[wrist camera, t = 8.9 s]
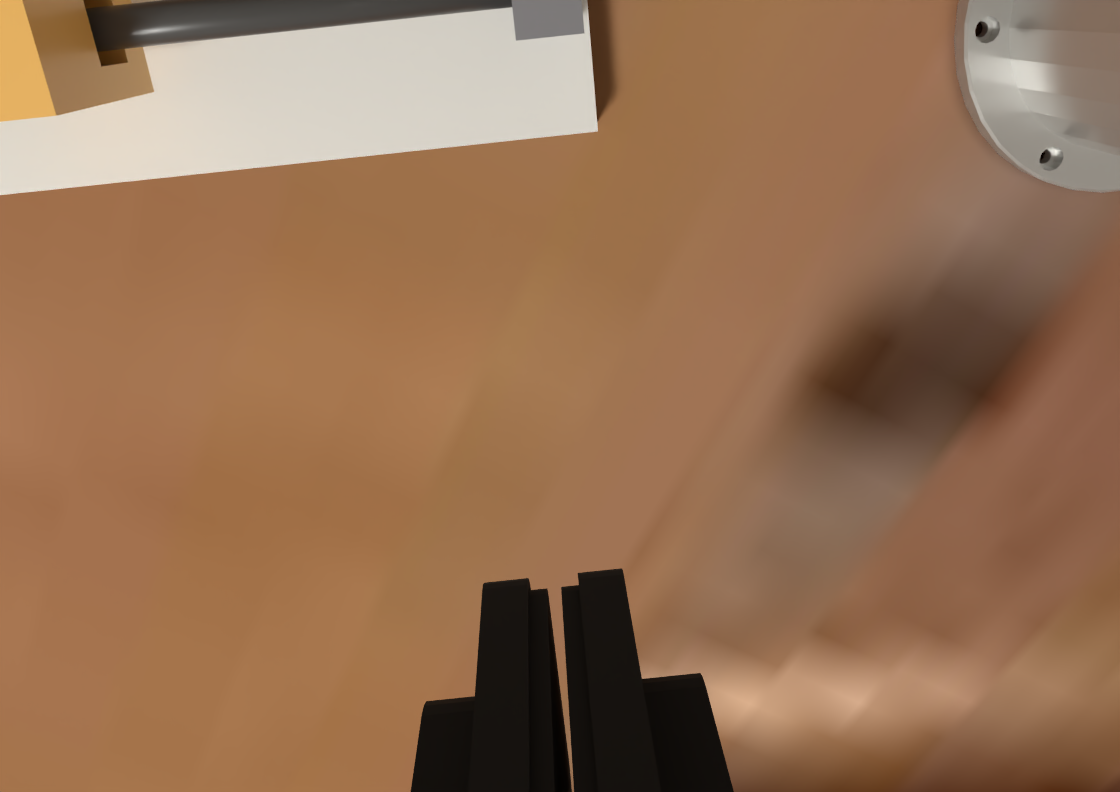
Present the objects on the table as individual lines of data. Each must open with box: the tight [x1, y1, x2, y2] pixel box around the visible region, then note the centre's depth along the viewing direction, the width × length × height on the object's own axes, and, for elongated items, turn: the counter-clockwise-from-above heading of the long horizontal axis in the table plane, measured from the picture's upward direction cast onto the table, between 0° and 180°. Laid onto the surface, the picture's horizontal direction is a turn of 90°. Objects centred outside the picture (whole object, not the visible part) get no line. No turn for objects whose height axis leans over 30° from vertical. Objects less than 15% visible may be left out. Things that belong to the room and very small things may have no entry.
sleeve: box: [0, 0, 154, 122], centre depth 27 cm, size 5×4×7 cm
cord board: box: [0, 0, 598, 195], centre depth 29 cm, size 27×10×9 cm, turn 96°
